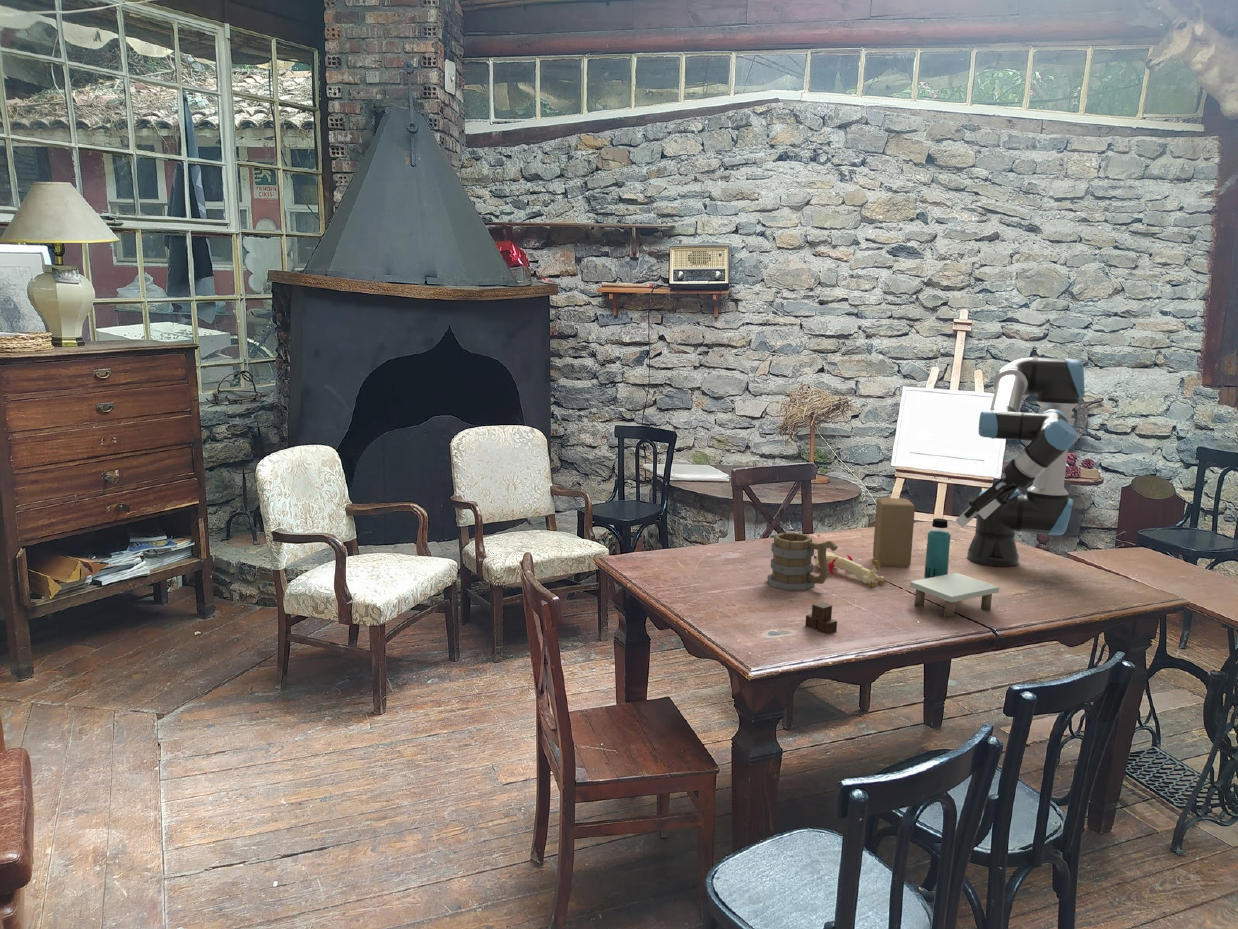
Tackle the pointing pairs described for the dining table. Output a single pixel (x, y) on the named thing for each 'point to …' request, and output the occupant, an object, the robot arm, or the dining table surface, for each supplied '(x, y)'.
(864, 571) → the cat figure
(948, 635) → the dining table surface
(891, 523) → the wooden block
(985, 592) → the peg shelf
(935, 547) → the beverage bottle
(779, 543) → the tankard
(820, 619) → the stack of crates
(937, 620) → the dining table surface
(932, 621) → the dining table surface
